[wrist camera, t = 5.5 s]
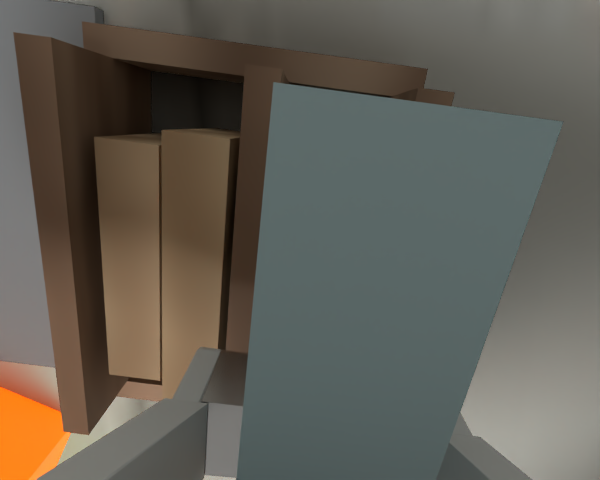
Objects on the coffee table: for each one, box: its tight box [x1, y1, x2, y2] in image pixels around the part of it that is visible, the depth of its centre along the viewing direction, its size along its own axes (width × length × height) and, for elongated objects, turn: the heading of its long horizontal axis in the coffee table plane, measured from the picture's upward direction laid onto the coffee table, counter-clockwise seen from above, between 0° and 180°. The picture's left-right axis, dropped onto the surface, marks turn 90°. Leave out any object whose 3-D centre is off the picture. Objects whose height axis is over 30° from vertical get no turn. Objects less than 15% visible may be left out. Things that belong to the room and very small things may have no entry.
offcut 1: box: [94, 133, 162, 381], centre depth 15 cm, size 2×9×6 cm, turn 173°
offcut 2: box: [162, 128, 240, 400], centre depth 14 cm, size 2×10×6 cm, turn 172°
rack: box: [13, 21, 455, 435], centre depth 14 cm, size 12×16×6 cm
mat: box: [0, 0, 104, 368], centre depth 17 cm, size 10×18×1 cm, turn 173°
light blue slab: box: [236, 82, 563, 480], centre depth 11 cm, size 2×12×13 cm, turn 173°
